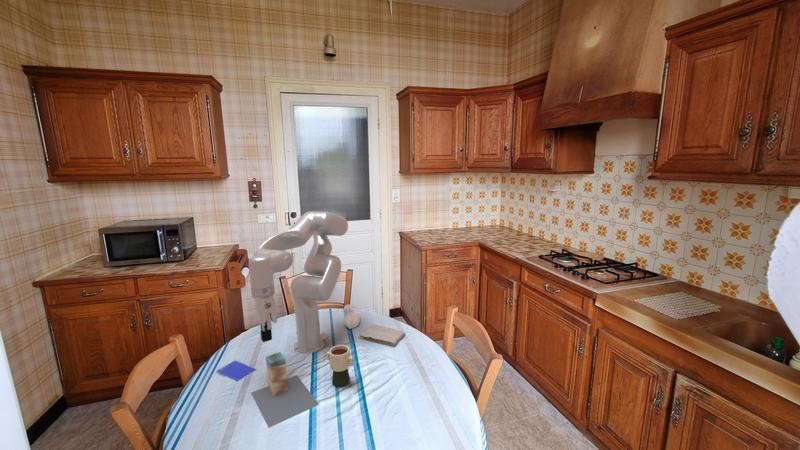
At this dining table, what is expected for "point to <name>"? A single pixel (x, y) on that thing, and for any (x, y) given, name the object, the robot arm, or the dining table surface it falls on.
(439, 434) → the dining table surface
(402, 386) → the dining table surface
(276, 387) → the maple block
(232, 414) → the dining table surface
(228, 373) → the hard drive
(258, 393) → the rubber mat
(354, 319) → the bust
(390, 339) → the washcloth
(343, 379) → the character mug
